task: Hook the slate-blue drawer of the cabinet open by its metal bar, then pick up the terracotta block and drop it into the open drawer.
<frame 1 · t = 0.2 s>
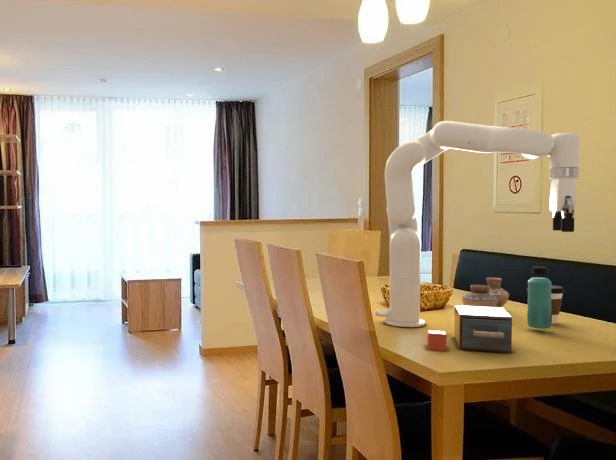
hand: (562, 231, 174), 31 cm above the table, tool pointing down, fingers open, 9 cm apart
beverage bottle: (538, 332, 178), on the table
block: (436, 348, 158), on the table
coffee cup: (545, 323, 191), on the table
drawer: (483, 331, 157), point 5 cm above the table, slide at 0.5 cm
cabinet: (481, 344, 161), on the table
pottery: (486, 313, 208), on the table
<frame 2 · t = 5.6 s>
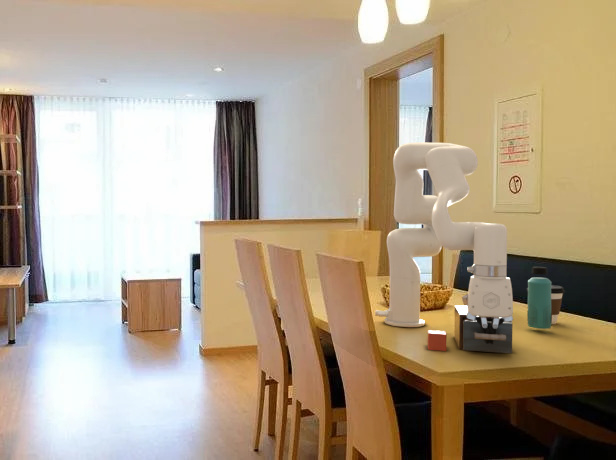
hand: (488, 342, 148), 4 cm above the table, tool pointing down, fingers closed
drawer: (485, 333, 154), point 5 cm above the table, slide at 3.2 cm, touching gripper
everything else where it was.
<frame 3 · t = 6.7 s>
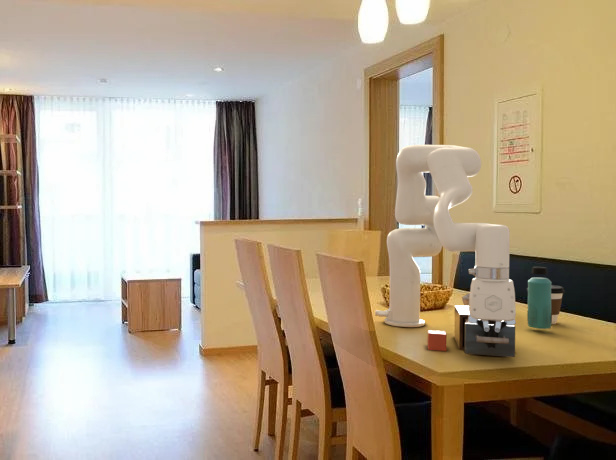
hand: (490, 346, 145), 4 cm above the table, tool pointing down, fingers closed
drawer: (487, 336, 150), point 5 cm above the table, slide at 7.0 cm
everything else where it was.
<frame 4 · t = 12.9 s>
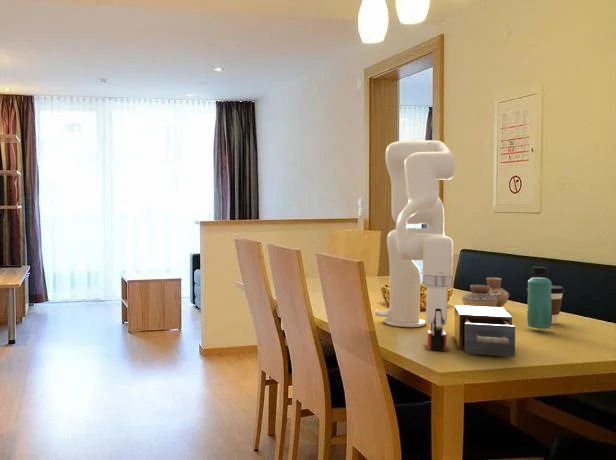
hand: (436, 347, 158), 0 cm above the table, tool pointing down, fingers closed on block, 4 cm apart
block: (436, 348, 158), on the table, touching gripper
everything else where it was.
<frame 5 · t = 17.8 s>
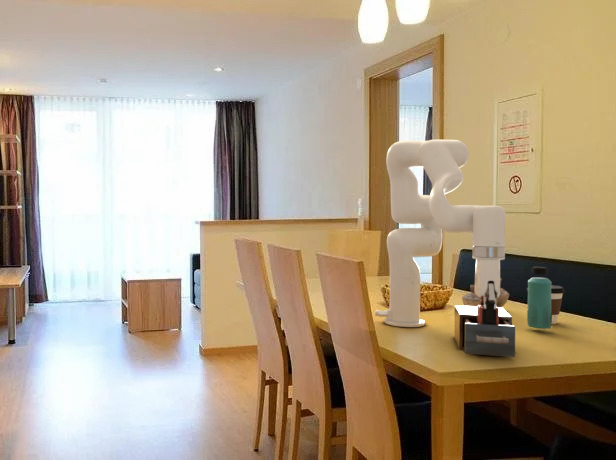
hand: (487, 322, 150), 9 cm above the table, tool pointing down, fingers closed on block, 4 cm apart
block: (487, 323, 150), point 8 cm above the table, touching gripper
drawer: (487, 336, 150), point 5 cm above the table, slide at 7.0 cm, touching gripper
everything else where it was.
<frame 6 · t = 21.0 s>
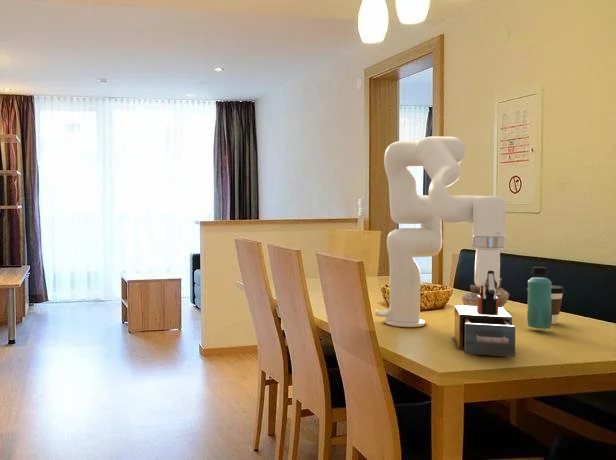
hand: (487, 312, 150), 11 cm above the table, tool pointing down, fingers closed on block, 4 cm apart
block: (487, 313, 151), point 11 cm above the table, touching gripper
drawer: (487, 336, 150), point 5 cm above the table, slide at 7.0 cm
everything else where it was.
when the fingers open (11 cm above the table, at t = 29.5 s): block drops 9 cm, resting on drawer.
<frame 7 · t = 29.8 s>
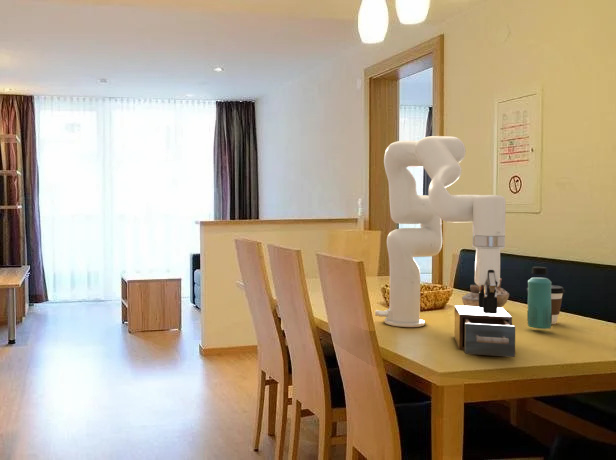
hand: (487, 309, 150), 12 cm above the table, tool pointing down, fingers open, 7 cm apart
block: (487, 346, 151), point 2 cm above the table, touching drawer
drawer: (487, 336, 150), point 5 cm above the table, slide at 7.1 cm, touching block
everything else where it was.
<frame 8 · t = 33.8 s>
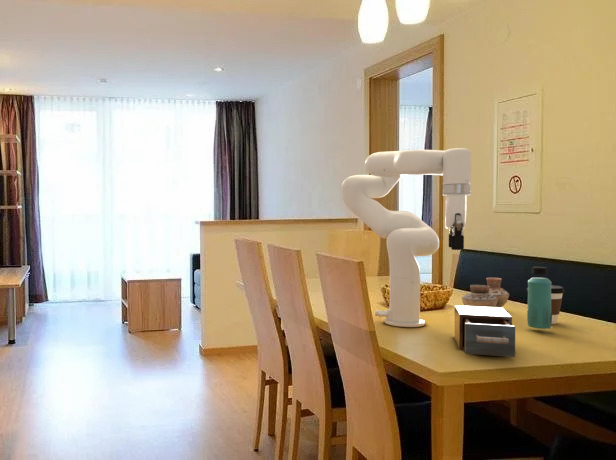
hand: (455, 248, 171), 26 cm above the table, tool pointing down, fingers open, 9 cm apart
nothing on the table moved.
at the end: drawer slide at 7.1 cm; block inside the target area in the drawer (0.5 cm from its centre), point 2.0 cm above the cabinet's base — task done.
